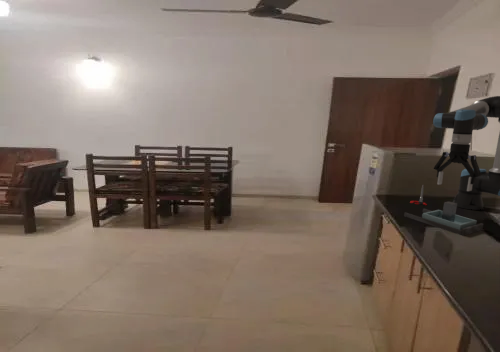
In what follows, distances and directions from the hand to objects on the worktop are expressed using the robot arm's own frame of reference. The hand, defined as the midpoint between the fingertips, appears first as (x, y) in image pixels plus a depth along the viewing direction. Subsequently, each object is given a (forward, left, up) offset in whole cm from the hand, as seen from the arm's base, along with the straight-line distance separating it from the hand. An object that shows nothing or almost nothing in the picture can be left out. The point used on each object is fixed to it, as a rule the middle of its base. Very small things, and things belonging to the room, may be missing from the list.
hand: (453, 187), depth 149 cm
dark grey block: (0, 0, -18) cm, 18 cm away
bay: (0, -3, -20) cm, 20 cm away
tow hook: (-24, -31, -20) cm, 44 cm away
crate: (0, 0, -19) cm, 19 cm away
